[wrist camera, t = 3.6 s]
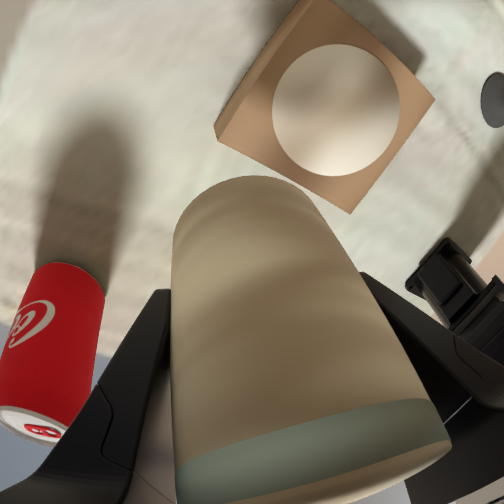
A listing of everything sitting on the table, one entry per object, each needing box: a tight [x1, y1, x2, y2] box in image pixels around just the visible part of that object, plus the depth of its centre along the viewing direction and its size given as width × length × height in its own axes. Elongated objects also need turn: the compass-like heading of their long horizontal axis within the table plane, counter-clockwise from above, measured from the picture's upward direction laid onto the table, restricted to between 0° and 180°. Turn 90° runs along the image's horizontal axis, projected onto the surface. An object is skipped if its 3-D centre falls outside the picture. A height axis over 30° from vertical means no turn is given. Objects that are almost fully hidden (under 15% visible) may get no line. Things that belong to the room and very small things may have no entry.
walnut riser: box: [214, 0, 435, 214], centre depth 16 cm, size 9×9×3 cm
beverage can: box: [0, 262, 105, 447], centre depth 17 cm, size 6×6×12 cm
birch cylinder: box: [170, 175, 452, 504], centre depth 7 cm, size 5×5×8 cm
